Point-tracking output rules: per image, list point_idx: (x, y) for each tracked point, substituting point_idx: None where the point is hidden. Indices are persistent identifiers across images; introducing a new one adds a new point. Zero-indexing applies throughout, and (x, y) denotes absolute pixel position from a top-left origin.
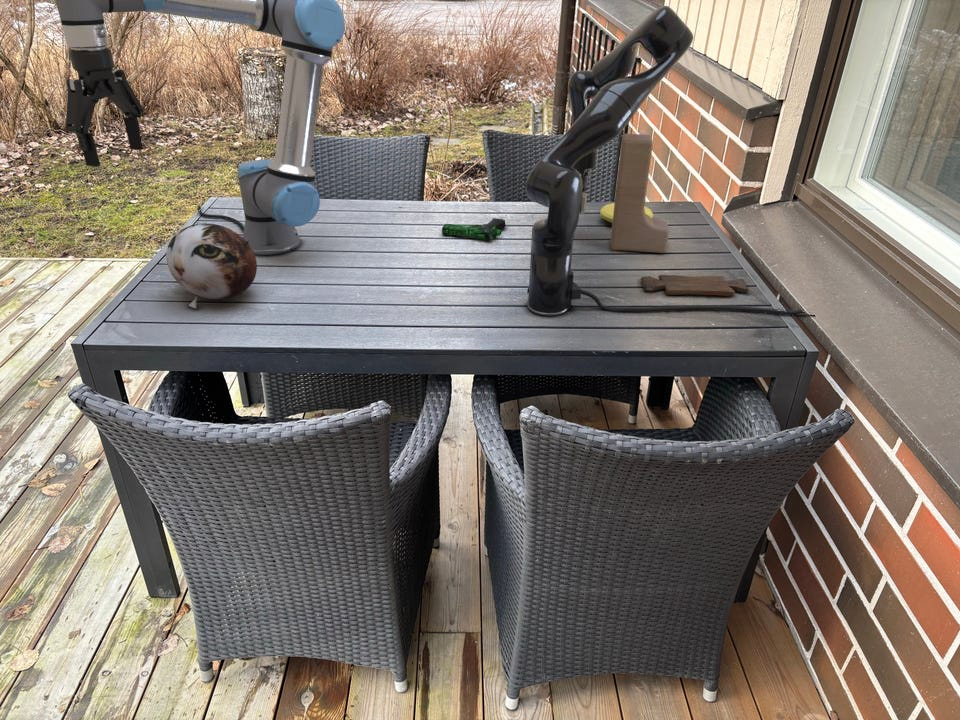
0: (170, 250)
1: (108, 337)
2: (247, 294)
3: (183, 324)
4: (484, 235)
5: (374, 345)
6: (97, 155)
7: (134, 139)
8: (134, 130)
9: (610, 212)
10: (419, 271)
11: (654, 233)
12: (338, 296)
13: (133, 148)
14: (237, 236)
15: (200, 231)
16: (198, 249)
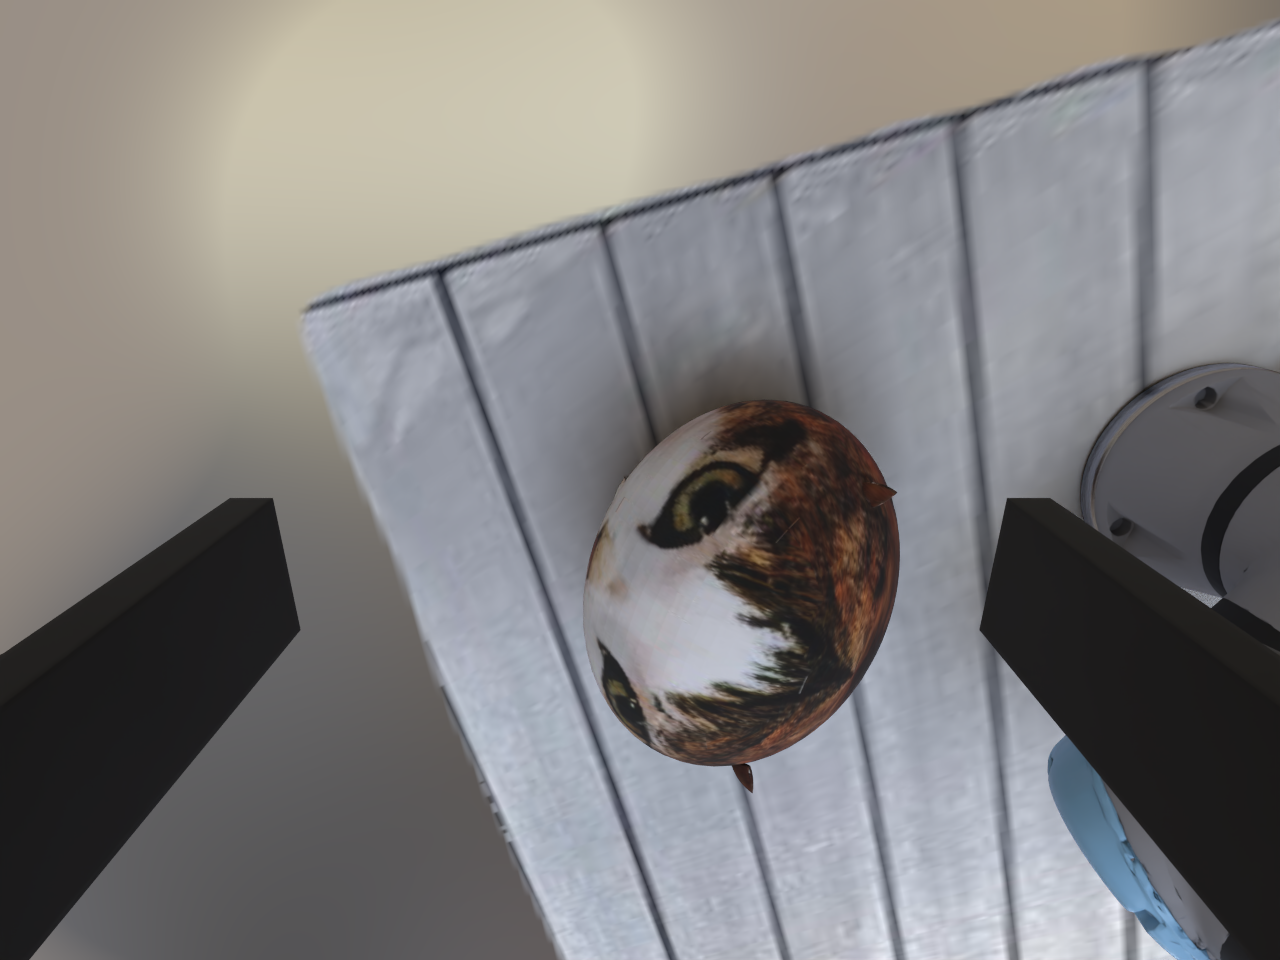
0: (643, 518)
1: (357, 364)
2: None
3: (514, 526)
4: None
5: (572, 946)
6: (236, 700)
7: (1060, 644)
8: (1130, 771)
9: None
10: (992, 923)
11: None
12: (796, 810)
13: (1001, 544)
14: (772, 752)
15: (699, 682)
16: (617, 677)
